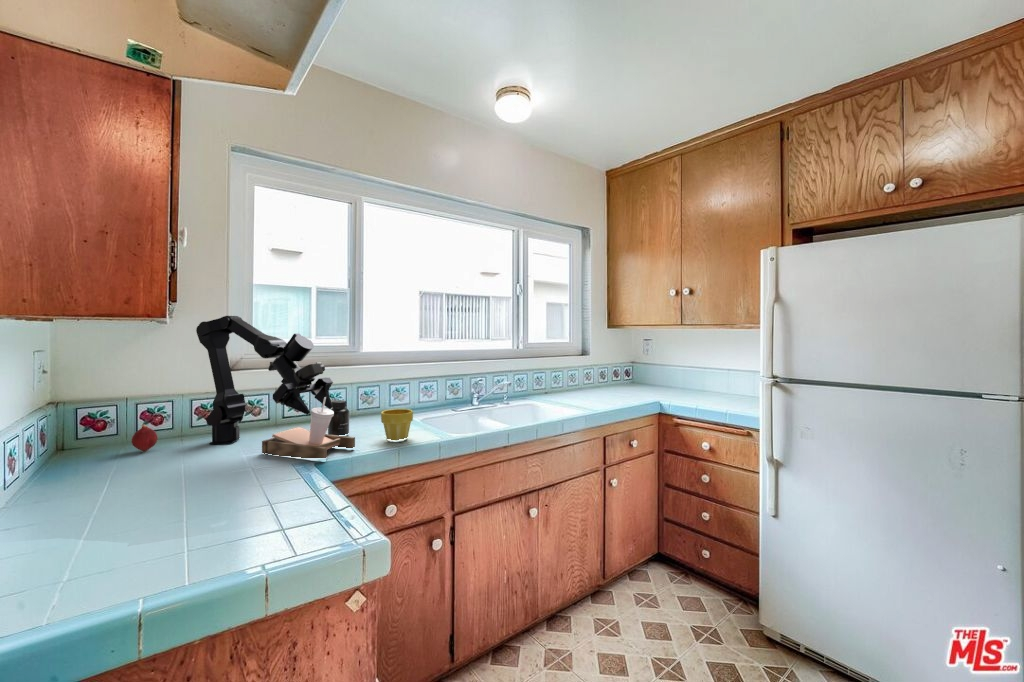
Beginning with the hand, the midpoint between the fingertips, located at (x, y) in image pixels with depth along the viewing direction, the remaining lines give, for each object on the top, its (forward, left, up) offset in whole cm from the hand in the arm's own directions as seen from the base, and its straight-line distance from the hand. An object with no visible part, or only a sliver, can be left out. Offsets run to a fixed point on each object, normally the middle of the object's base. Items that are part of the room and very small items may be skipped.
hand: (320, 410), depth 126 cm
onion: (-51, +11, -13) cm, 53 cm away
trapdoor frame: (-3, +2, -13) cm, 13 cm away
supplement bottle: (+1, +22, -13) cm, 25 cm away
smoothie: (-1, +1, -10) cm, 10 cm away
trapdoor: (-5, +3, -12) cm, 14 cm away
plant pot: (+21, +13, -13) cm, 28 cm away
